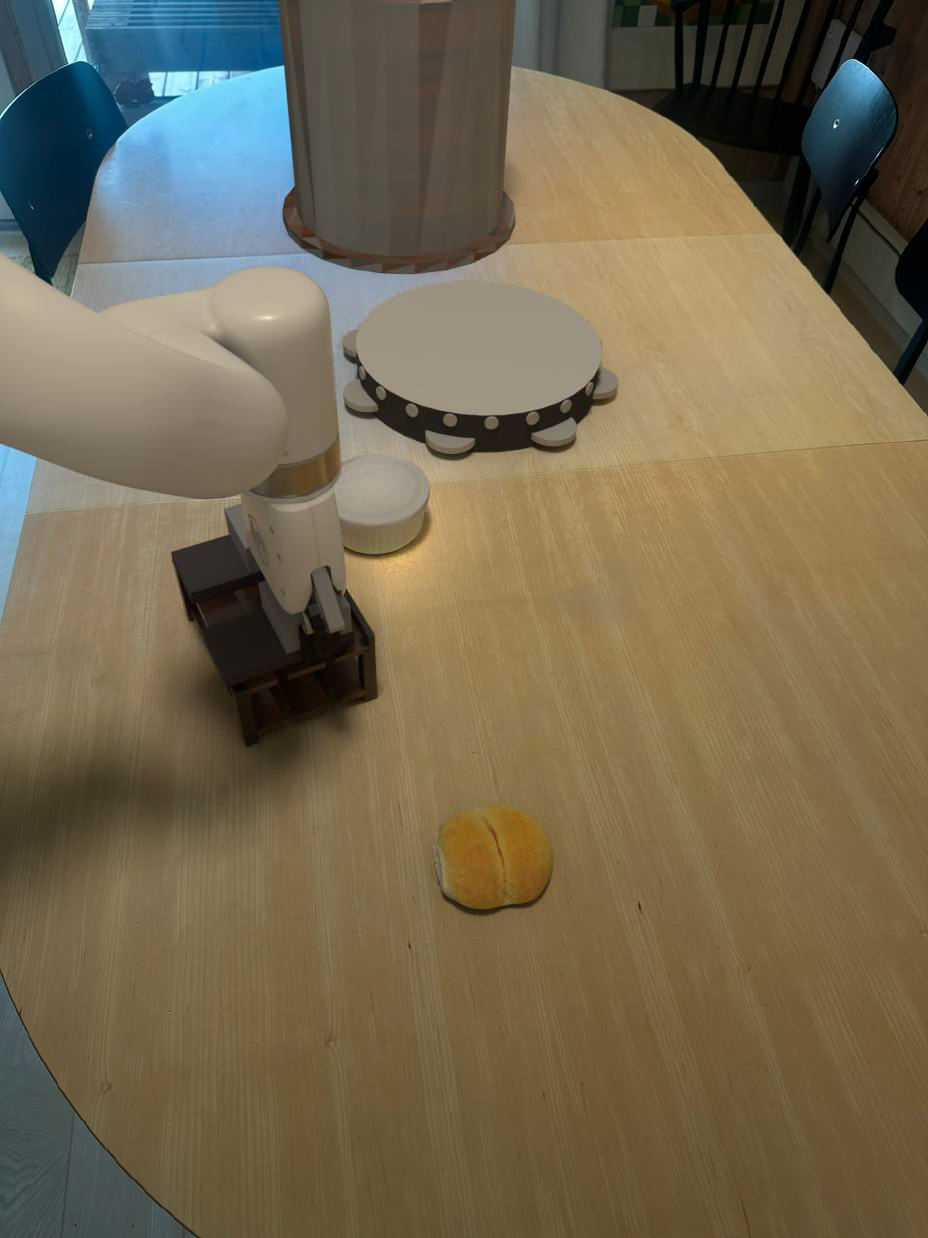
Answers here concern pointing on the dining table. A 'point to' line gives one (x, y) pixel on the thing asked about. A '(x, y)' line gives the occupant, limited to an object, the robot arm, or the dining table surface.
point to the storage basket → (398, 130)
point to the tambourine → (477, 367)
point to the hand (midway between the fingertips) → (307, 627)
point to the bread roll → (492, 857)
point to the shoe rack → (290, 667)
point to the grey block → (218, 562)
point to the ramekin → (380, 502)
